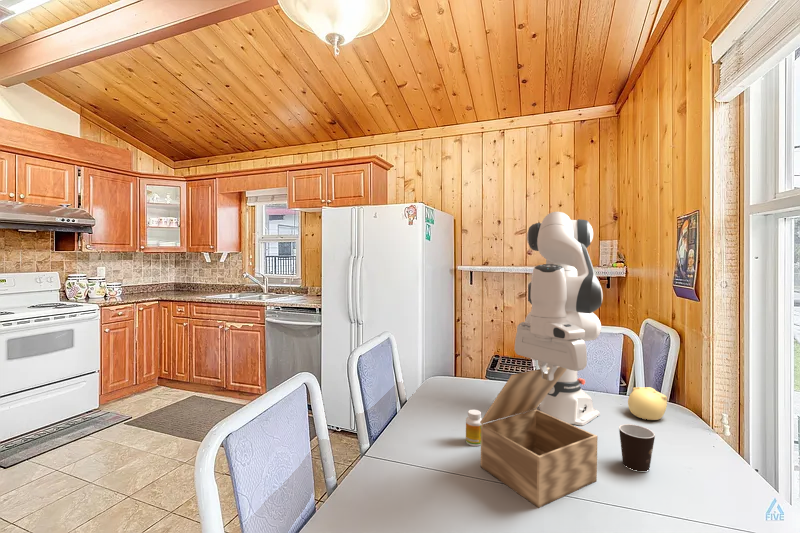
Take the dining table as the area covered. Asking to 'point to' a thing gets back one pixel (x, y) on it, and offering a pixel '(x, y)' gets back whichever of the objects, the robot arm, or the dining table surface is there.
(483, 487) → the dining table surface
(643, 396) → the sculpture
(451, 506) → the dining table surface
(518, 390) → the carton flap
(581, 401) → the robot arm
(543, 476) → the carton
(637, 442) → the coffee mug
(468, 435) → the supplement bottle
